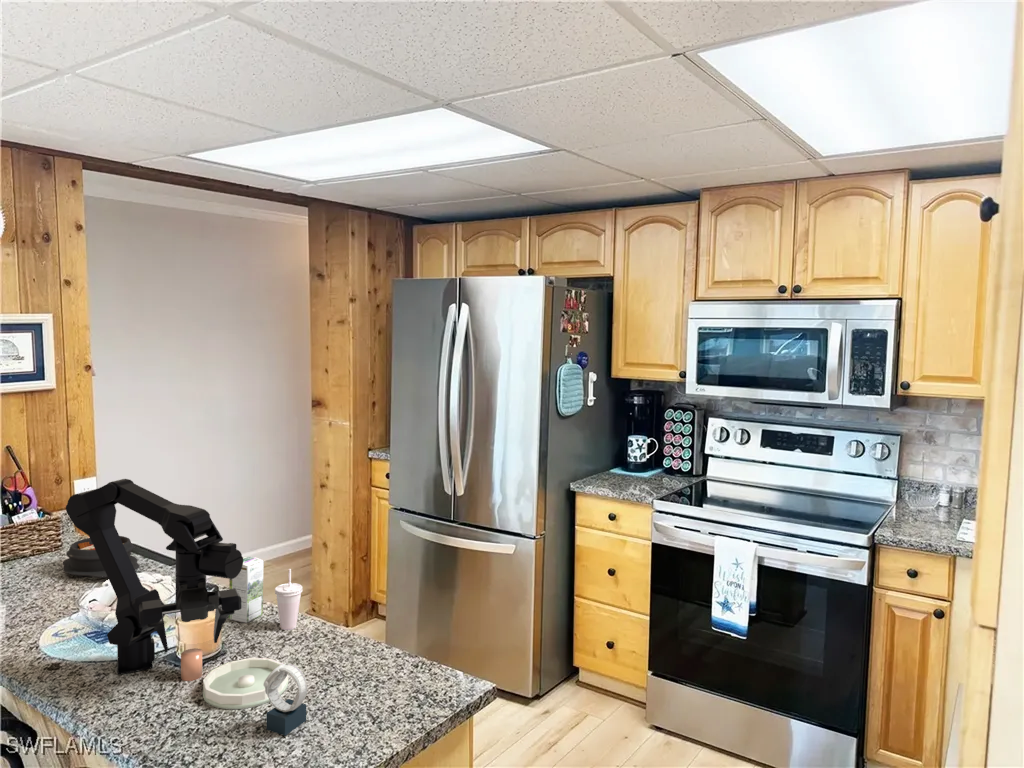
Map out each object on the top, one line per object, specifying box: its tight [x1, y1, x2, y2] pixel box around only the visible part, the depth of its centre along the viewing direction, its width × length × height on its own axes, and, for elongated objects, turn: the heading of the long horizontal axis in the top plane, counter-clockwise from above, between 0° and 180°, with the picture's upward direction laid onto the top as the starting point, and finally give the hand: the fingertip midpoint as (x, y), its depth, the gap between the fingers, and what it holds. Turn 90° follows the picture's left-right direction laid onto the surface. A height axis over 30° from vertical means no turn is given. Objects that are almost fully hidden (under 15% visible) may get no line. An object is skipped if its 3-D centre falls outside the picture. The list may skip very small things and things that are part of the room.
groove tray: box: [202, 657, 289, 710], centre depth 142 cm, size 16×16×2 cm
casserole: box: [62, 535, 140, 579], centre depth 205 cm, size 25×19×8 cm
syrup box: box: [228, 556, 265, 624], centre depth 175 cm, size 6×6×14 cm
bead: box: [180, 648, 203, 682], centre depth 146 cm, size 4×4×5 cm
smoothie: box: [274, 568, 304, 631], centre depth 171 cm, size 6×6×14 cm
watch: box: [263, 663, 308, 737], centre depth 129 cm, size 6×8×11 cm
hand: (191, 646), depth 145 cm, fingers open, 9 cm apart
